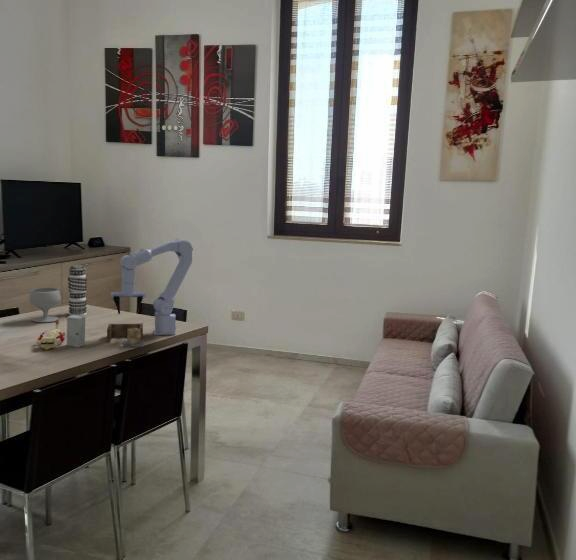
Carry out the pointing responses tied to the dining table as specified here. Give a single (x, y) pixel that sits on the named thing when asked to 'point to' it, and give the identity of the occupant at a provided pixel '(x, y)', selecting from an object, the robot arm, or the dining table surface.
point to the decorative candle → (77, 290)
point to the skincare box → (75, 331)
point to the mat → (127, 345)
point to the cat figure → (51, 338)
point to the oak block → (134, 336)
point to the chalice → (45, 302)
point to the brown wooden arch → (122, 330)
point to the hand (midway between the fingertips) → (128, 313)
